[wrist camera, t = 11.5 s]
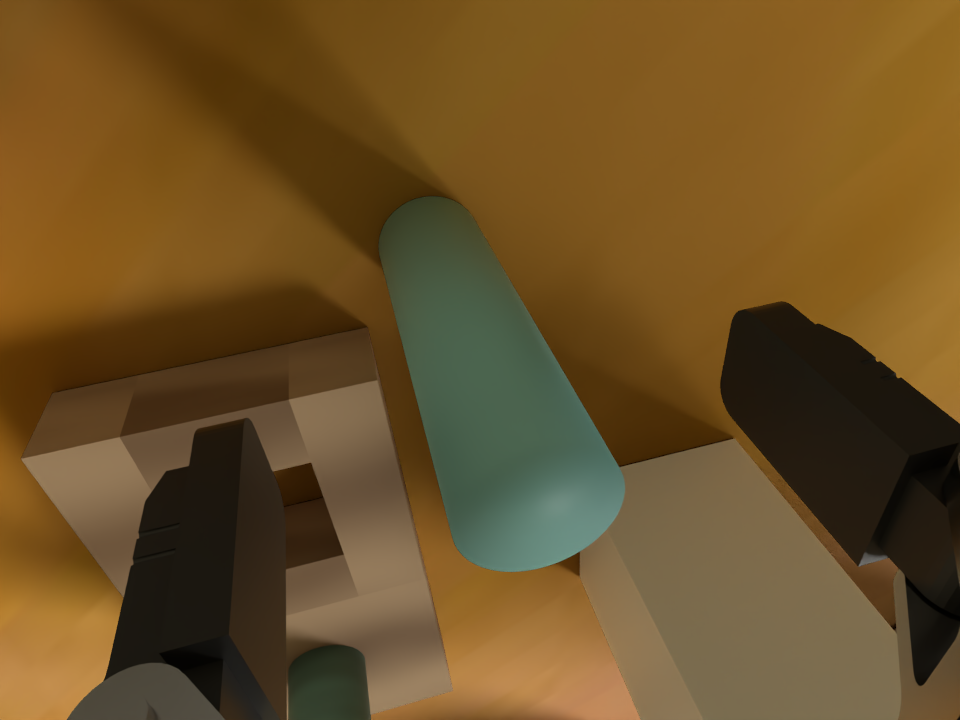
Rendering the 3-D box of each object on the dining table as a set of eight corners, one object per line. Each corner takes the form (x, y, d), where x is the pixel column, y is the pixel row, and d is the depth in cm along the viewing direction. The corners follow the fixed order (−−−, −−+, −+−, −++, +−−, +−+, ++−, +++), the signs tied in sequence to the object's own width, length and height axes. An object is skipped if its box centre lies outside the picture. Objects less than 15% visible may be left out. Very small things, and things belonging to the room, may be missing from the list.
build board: (413, 520, 22) (425, 578, 20) (172, 580, 21) (161, 648, 19) (367, 327, 17) (377, 379, 15) (52, 393, 16) (20, 458, 14)
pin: (484, 280, 17) (621, 545, 10) (388, 299, 17) (462, 589, 10) (474, 187, 16) (629, 425, 9) (369, 206, 15) (440, 471, 8)
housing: (713, 541, 27) (913, 841, 19) (579, 577, 26) (722, 910, 18) (734, 438, 24) (994, 752, 15) (580, 477, 23) (760, 832, 14)
